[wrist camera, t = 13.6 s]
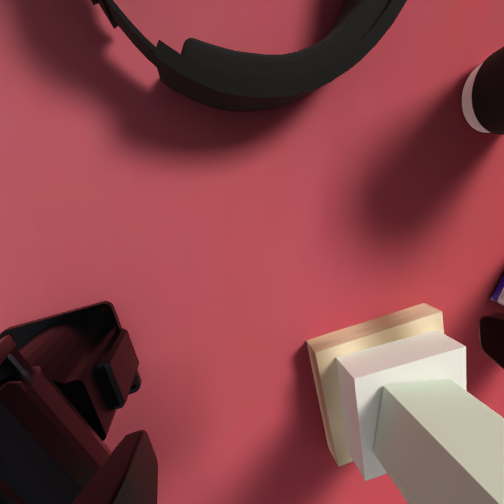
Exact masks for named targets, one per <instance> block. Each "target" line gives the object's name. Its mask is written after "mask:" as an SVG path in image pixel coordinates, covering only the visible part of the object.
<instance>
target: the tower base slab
mask: <svg viewBox="0 0 504 504" xmlns="http://www.w3.org/2000/svg"><path fill="white" fill-rule="evenodd" d="M433 330H438V331H440V332H441V333H443V334H444V328H443V317H442V311H440V310H438V309H436V308H434V307H432V306H429V305H427V304H425V303H422V304H419V305H416V306H413V307H410V308H407V309H404V310H400V311H397V312H394V313H391V314H388V315H385V316H382V317H378V318H375V319H372V320H369V321H366V322H363V323H360V324H357V325H353V326H350V327H347V328H344V329H341V330H338V331H335V332H331V333H328V334H325V335H322V336H319V337H316V338H313V339H309V340H306V343H307V347H308V352H309V357H310V362H311V367H312V371H313V376H314V381H315V386H316V391H317V396H318V400H319V405H320V410H321V415H322V420H323V424H324V429H325V434H326V439H327V444H328V448H329V450H330V452H331V454H332V456H333V458H334V459H335V461H336V463H337V465H338V467H340V466H342V465H345V464H347V463H350V462H353V459H352V458H351V456H350V454H349V453H348V451H347V445H346V437H345V429H344V421H343V413H342V405H341V397H340V388H339V380H338V372H337V364H336V357H338V356H342V355H346V354H349V353H353V352H357V351H360V350H364V349H367V348H371V347H375V346H378V345H382V344H386V343H389V342H393V341H396V340H400V339H404V338H407V337H411V336H415V335H418V334H422V333H425V332H429V331H433Z"/></svg>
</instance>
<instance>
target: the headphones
mask: <svg viewBox="0 0 504 504" xmlns="http://www.w3.org/2000/svg"><path fill="white" fill-rule="evenodd" d="M91 1H92V3H93V5H95V4H98V3H99V5H100V6H101V8H102V9H103V11H104V13H105V14H106V16H107V18H108V19H109V21H110V23H111V24H112V26H113V27H114V29H115V28H116V27H117V26H119V27H120V28H121V29H122V31H123V32H124V33H125V34H126V35H127V37H128V38H129V39H130V40H131V41H132V43H133V44H134V45H135V46H136V47H137V48H138V49H139V50H140V51H141V52H142V53H143V55H144V56H145V57H146V58H147V59H148V60H149V61H150V62H152V63H153V64H154V65H155V66H156V67H157V69H158V72H159V76H160V79H161V81H162V82H163V83H165V84H166V85H168V86H169V87H171V88H172V89H174V90H175V91H177V92H179V93H181V94H183V95H185V96H187V97H189V98H191V99H193V100H196V101H198V102H200V103H203V104H205V105H208V106H210V107H214V108H218V109H222V110H229V111H259V110H267V109H272V108H276V107H279V106H282V105H285V104H288V103H290V102H293V101H295V100H297V99H299V98H301V97H303V96H305V95H307V94H308V93H310V92H312V91H314V90H316V89H318V88H320V87H321V86H323V85H325V84H327V83H329V82H331V81H332V80H334V79H335V78H337V77H338V76H340V75H342V74H343V73H345V72H346V71H348V70H349V69H350V68H352V67H353V66H354V65H355V64H357V63H358V62H359V61H360V60H361V59H362V58H363V57H364V56H365V55H366V54H367V53H368V52H369V51H370V50H371V49H372V48H373V47H374V46H375V45H376V44H377V43H378V41H379V40H380V39H381V38H382V36H383V35H384V34H385V33H386V31H387V30H388V29H389V28H390V26H391V25H392V24H393V23H394V21H395V19H396V18H397V16H398V14H399V12H400V11H401V9H402V7H403V6H404V4H405V2H406V1H407V0H346V1H345V3H344V5H343V7H342V10H341V12H340V14H339V16H338V18H337V20H336V22H335V23H334V25H333V26H332V28H331V29H330V31H329V32H328V34H327V35H326V36H325V37H324V38H323V40H322V41H320V42H319V43H317V44H315V45H314V46H311V47H309V48H306V49H303V50H301V51H298V52H294V53H288V54H283V55H264V54H256V53H247V52H239V51H233V50H229V49H226V48H222V47H219V46H215V45H211V44H209V43H206V42H203V41H200V40H197V39H194V38H189V39H187V40H186V41H185V43H184V45H183V48H182V52H181V54H179V53H178V52H176V51H175V50H173V49H172V48H170V47H169V46H167V45H166V44H164V43H163V42H161V41H160V40H159V41H158V44H157V47H155V46H154V45H153V44H152V43H151V42H150V41H149V40H148V39H146V38H145V37H144V36H143V35H142V33H141V32H140V31H139V30H138V29H137V28H136V27H135V26H134V25H133V24H132V23H131V21H130V20H129V19H128V18H127V17H126V16H125V15H124V13H123V12H122V11H121V10H120V9H119V7H118V6H117V5H116V4H115V2H114V1H113V0H91Z"/></svg>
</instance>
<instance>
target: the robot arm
mask: <svg viewBox="0 0 504 504" xmlns="http://www.w3.org/2000/svg"><path fill="white" fill-rule="evenodd" d="M102 307H105V308H107V309H108V312H103V311H102V310H101V308H102ZM479 331H480V345H481V347H482V349H483V351H484V352H485V353H486V354H487V355H488V356H489V357H491V358H492V359H493V360H494V361H495V362H496V363H497V364H499V365H500V366H501V367H502V368H503V369H504V313H491V314H488V315H485V316H483V317H481V318H480V320H479ZM9 334H12V335H13V336H14V339H12V338H11V337H10V336H9ZM138 365H139V361H138V359H137V356H136V353H135V350H134V348H133V345H132V342H131V340H130V337H129V334H128V331H127V330H125V329H122V327H121V325H120V322H119V319H118V317H117V314H116V311H115V309H114V306H113V305H112V303H110V302H108V301H103V302H99V303H96V304H92V305H89V306H85V307H81V308H78V309H74V310H71V311H67V312H63V313H60V314H56V315H53V316H49V317H45V318H42V319H38V320H35V321H31V322H28V323H24V324H20V325H17V326H13V327H10V328H8V329H6V330H5V331H3V332H2V333H1V334H0V504H157V485H158V464H157V458H156V455H155V452H154V450H153V447H152V444H151V442H150V439H149V436H148V434H147V432H146V431H145V430H140V431H137V432H134V433H131V434H128V435H126V436H125V437H124V438H123V440H122V441H121V442H120V443H119V445H118V446H117V447H116V448H115V450H114V451H113V452H111V451H110V450H109V448H108V447H107V446H106V445H105V444H104V442H103V440H105V438H106V436H107V433H108V431H109V428H110V425H111V423H112V420H113V417H114V415H115V412H116V409H119V408H122V407H123V406H124V404H125V402H126V400H127V397H128V394H131V393H134V392H136V391H138V390H139V388H140V385H141V379H140V376H139V373H138V371H137V368H138ZM132 383H135V384H136V385H135V386H132Z"/></svg>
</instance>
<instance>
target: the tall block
mask: <svg viewBox="0 0 504 504" xmlns="http://www.w3.org/2000/svg"><path fill="white" fill-rule="evenodd" d="M373 453H374V455H375V456H376V457H377V459H378V460H379V462H380V463H381V465H382V466H383V468H384V469H385V470H386V472H387V473H388V475H389V476H390V478H391V479H392V481H393V482H394V483H395V485H396V486H397V488H398V489H399V491H400V492H401V494H402V495H403V496H404V498H405V499H406V501H407V502H408V504H504V418H503V417H501V416H500V415H498V414H497V413H496V412H494V411H493V410H492V409H490V408H489V407H488V406H486V405H485V404H483V403H482V402H481V401H479V400H478V399H477V398H475V397H474V396H473V395H471V394H470V393H468V392H467V391H466V390H464V389H463V388H462V387H460V386H459V385H458V384H456V383H455V382H453V381H452V380H451V379H448V380H438V381H429V382H419V383H409V384H399V385H389V386H384V388H383V394H382V401H381V407H380V413H379V420H378V426H377V433H376V439H375V445H374V452H373Z"/></svg>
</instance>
